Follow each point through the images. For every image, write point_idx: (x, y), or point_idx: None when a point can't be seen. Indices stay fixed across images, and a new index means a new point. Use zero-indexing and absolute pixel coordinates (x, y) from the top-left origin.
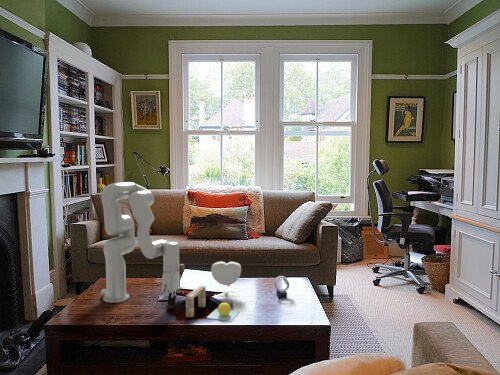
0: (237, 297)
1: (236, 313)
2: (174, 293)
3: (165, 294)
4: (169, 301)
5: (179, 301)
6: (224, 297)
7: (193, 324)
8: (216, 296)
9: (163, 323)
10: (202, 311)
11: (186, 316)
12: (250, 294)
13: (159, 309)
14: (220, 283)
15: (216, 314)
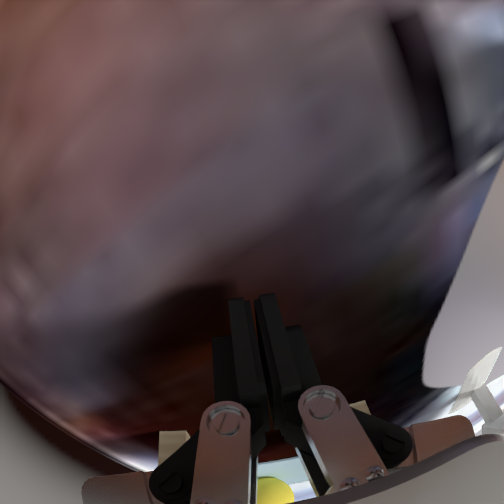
0: (451, 412)
1: (294, 482)
2: (304, 469)
3: (88, 502)
4: (214, 370)
5: (431, 257)
6: (460, 392)
7: (119, 458)
8: (475, 371)
9: (12, 380)
10: (273, 443)
11: (160, 433)
12: (469, 411)
13: (133, 210)
14: (498, 430)
15: (258, 472)
